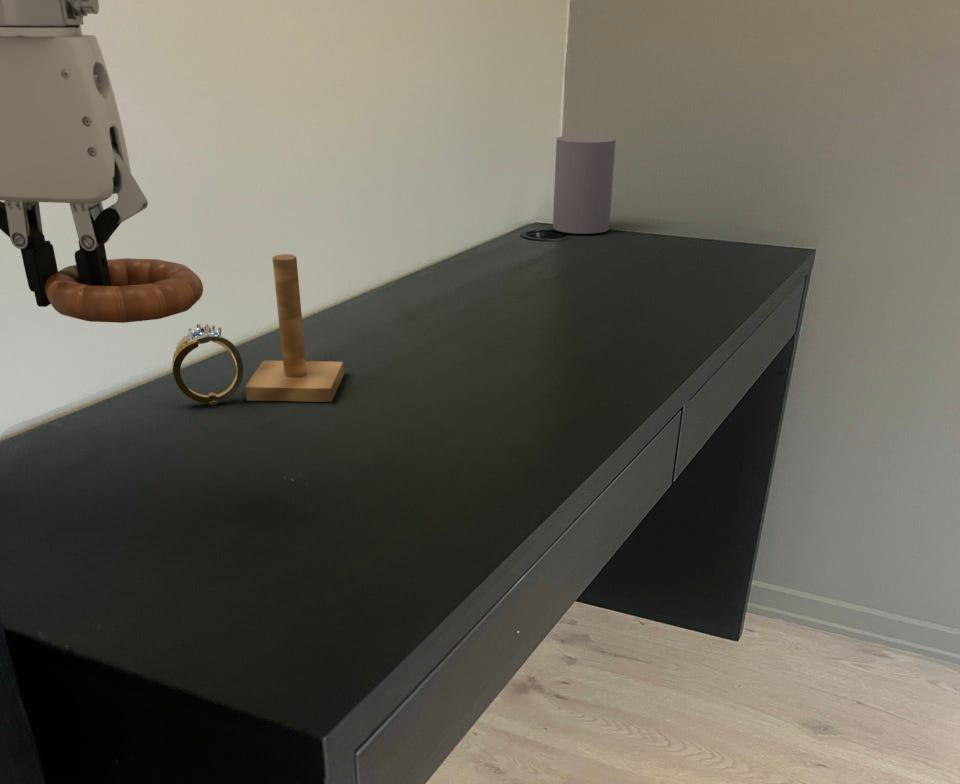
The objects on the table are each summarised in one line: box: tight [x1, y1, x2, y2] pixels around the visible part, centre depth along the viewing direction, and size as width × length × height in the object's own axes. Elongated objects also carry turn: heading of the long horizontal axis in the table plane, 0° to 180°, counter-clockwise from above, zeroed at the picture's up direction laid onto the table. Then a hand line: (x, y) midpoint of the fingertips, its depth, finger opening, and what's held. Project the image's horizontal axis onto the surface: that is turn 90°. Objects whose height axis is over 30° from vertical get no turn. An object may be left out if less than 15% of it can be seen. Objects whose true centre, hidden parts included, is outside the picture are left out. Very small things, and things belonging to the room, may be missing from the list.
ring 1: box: [45, 257, 204, 324], centre depth 72 cm, size 11×11×2 cm
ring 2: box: [171, 323, 244, 406], centre depth 100 cm, size 7×3×8 cm, turn 107°
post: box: [244, 253, 345, 403], centre depth 103 cm, size 9×9×14 cm
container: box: [552, 134, 617, 236], centre depth 177 cm, size 10×10×15 cm
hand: (73, 300), depth 73 cm, fingers closed on ring 1, 2 cm apart
